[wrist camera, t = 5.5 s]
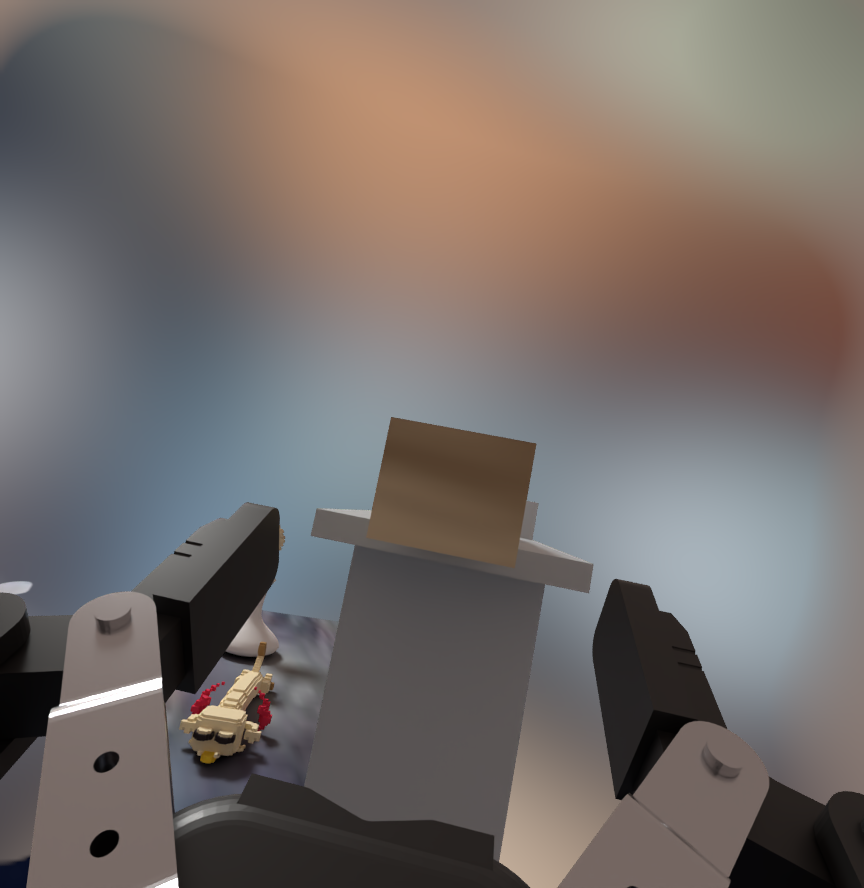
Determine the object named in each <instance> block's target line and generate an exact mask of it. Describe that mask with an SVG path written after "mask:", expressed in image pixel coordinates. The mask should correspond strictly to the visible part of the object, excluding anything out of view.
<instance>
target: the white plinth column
mask: <svg viewBox="0 0 864 888" xmlns="http://www.w3.org/2000/svg"><path fill="white" fill-rule="evenodd" d="M537 509H538V503H535V502H529V501H526V506H525V512H524V518H523V524H522V529H521V535H520V541H519V547H518V552H517V558H516V564H515V568H511V567H506V566H501V565H496V564H491V563H487V562H482V561H477V560H472V559H467V558H462V557H457V556H452V555H448V554H443V553H438V552H433V551H428V550H423V549H418V548H413V547H409V546H404V545H399V544H394V543H389V542H384V541H379V540H375V539H370V538H366V536H367V531H368V526H369V521H370V517H371V512H372V510H346V509H319V508H317V510H316V515H315V519H314V524H313V528H312V532H311V536H315V537H319V538H324V539H330V540H334V541H339V542H344V543H349V544H354V545H355V548H354V552H353V557H352V562H351V566H350V571H349V576H348V581H347V585H346V591H345V595H344V600H343V605H342V609H341V614H340V619H339V623H338V628H337V633H336V638H335V642H334V647H333V652H332V657H331V661H330V666H329V671H328V676H327V680H326V685H325V690H324V695H323V700H322V704H321V709H320V714H319V719H318V723H317V728H316V733H315V738H314V742H313V747H312V752H311V757H310V761H309V766H308V771H307V776H306V780H305V785H304V787H307V788H310V789H312V790H313V791H315V792H317V793H318V794H320V795H322V796H324V797H325V798H327V799H329V800H330V801H332V802H334V803H335V804H337V805H339V806H340V807H342V808H344V809H346V810H347V811H349V812H351V813H352V814H354V815H356V816H357V817H359V818H361V819H363V820H366V821H405V820H436V821H439V822H443V823H447V824H451V825H455V826H459V827H463V828H467V829H471V830H475V831H478V832H482V833H486V834H490V835H494V857H493V859H494V860H496V861H498V862H499V858H500V852H501V846H502V840H503V834H504V828H505V822H506V816H507V810H508V803H509V798H510V792H511V785H512V780H513V774H514V768H515V762H516V756H517V750H518V744H519V738H520V732H521V726H522V720H523V714H524V707H525V702H526V696H527V690H528V683H529V678H530V671H531V665H532V660H533V653H534V648H535V642H536V636H537V630H538V624H539V617H540V611H541V605H542V599H543V593H544V587H545V584H546V585H551V586H556V587H562V588H566V589H571V590H575V591H580V592H585V593H589V590H590V583H591V577H592V570H593V564H592V563H589V562H586V561H584V560H581V559H579V558H577V557H574V556H571V555H569V554H566V553H564V552H561V551H559V550H556V549H554V548H551V547H549V546H546V545H544V544H541V543H539V542H536V541H534V540H532V538H533V532H534V526H535V520H536V515H537Z"/></svg>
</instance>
